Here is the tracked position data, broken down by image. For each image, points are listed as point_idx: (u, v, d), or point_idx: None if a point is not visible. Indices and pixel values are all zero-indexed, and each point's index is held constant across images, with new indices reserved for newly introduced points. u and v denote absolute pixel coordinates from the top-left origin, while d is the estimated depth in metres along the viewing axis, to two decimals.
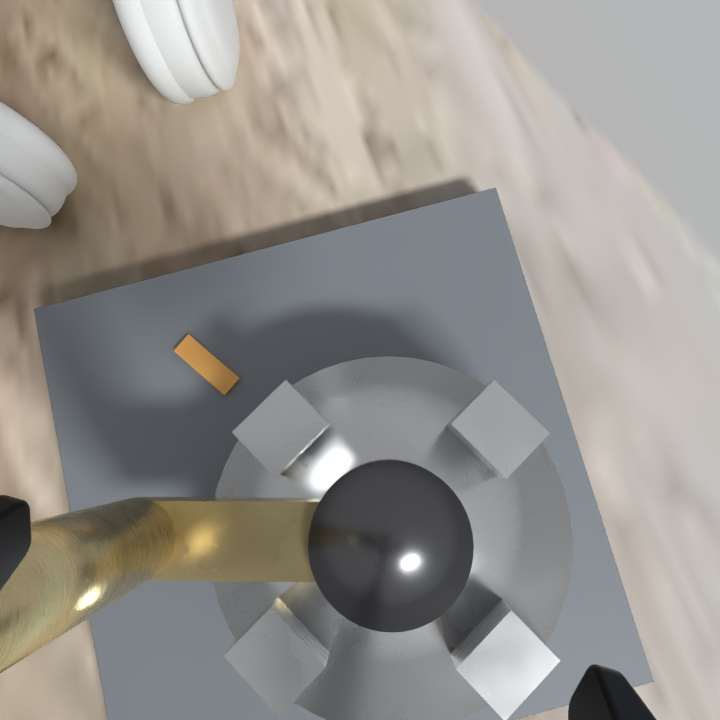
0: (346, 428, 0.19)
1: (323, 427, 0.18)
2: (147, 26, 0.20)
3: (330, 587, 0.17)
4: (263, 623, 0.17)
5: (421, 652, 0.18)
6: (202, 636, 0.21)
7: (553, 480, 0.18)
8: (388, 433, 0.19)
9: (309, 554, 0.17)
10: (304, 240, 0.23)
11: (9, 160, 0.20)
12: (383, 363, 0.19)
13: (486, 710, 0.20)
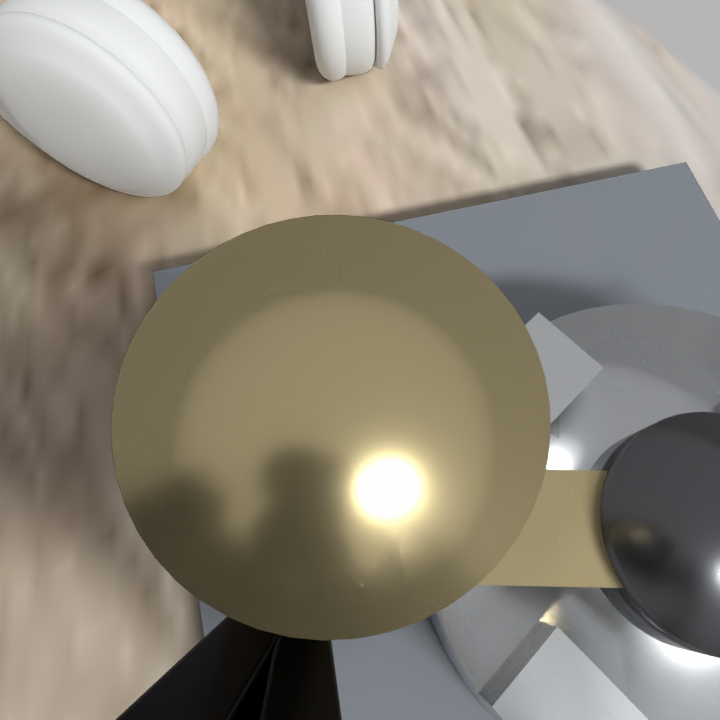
0: (603, 388, 0.14)
1: (596, 372, 0.13)
2: None
3: (653, 591, 0.11)
4: (548, 652, 0.11)
5: None
6: (378, 710, 0.14)
7: None
8: (659, 396, 0.14)
9: (613, 541, 0.11)
10: (478, 207, 0.20)
11: (168, 83, 0.17)
12: (638, 311, 0.15)
13: None
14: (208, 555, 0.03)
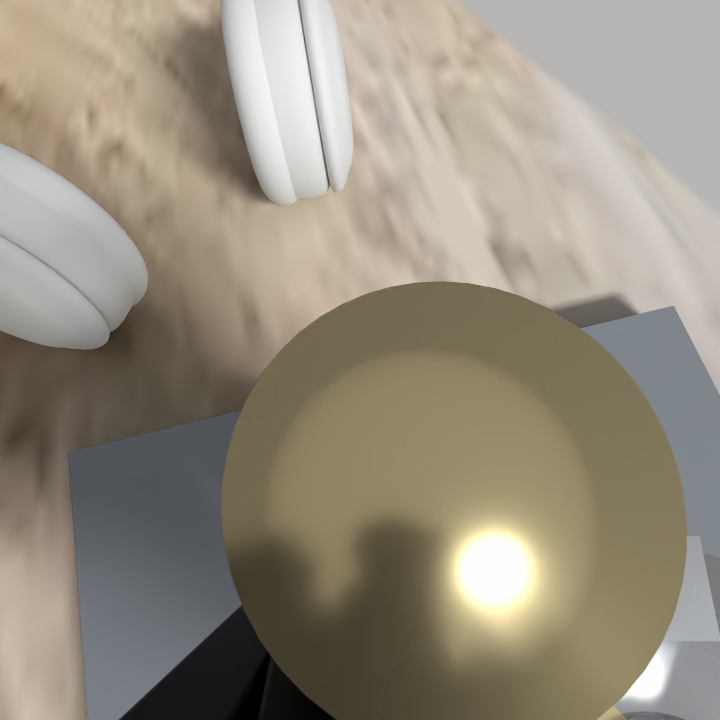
0: (702, 658, 0.12)
1: (709, 639, 0.11)
2: (272, 107, 0.16)
3: None
4: None
5: None
6: None
7: None
8: None
9: None
10: None
11: (75, 258, 0.15)
12: None
13: None
14: (257, 517, 0.03)
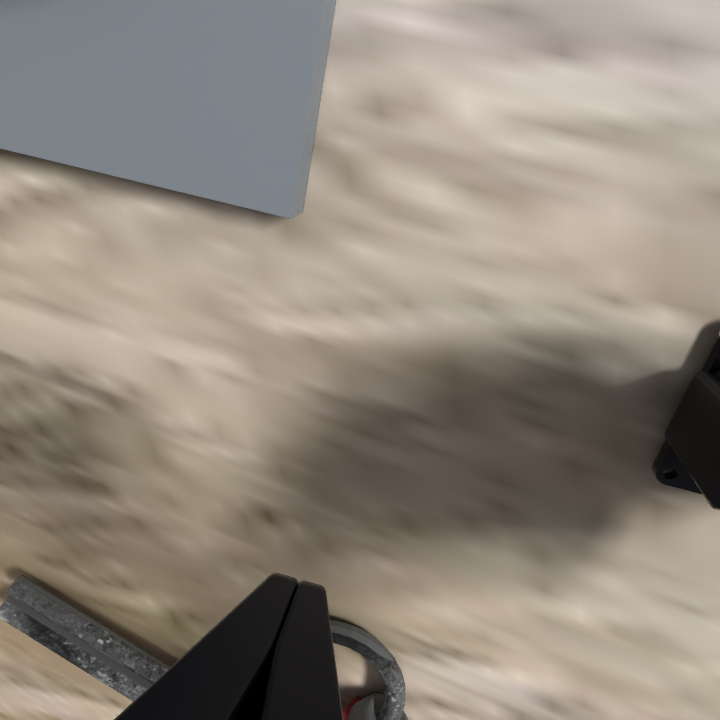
0: None
1: None
2: None
3: None
4: None
5: None
6: (130, 39, 0.17)
7: None
8: None
9: None
10: None
11: None
12: None
13: None
14: None
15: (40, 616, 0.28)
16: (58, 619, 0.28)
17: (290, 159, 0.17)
